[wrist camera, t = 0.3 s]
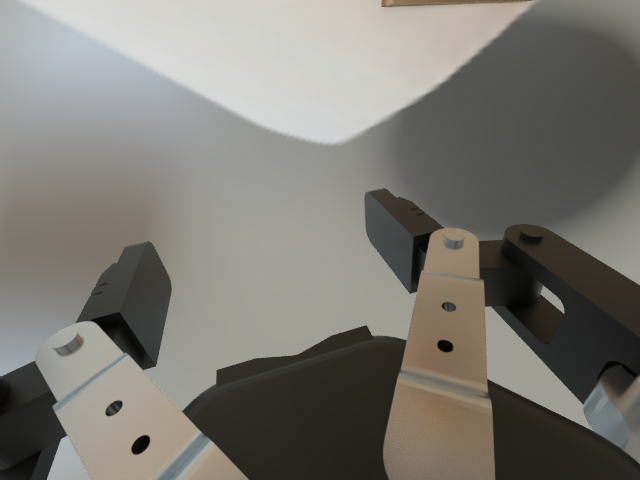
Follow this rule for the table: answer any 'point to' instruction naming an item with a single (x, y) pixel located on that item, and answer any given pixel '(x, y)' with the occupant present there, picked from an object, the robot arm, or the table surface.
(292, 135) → the table surface
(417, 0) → the picture frame
